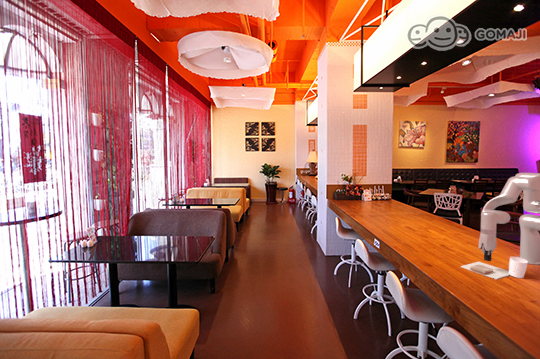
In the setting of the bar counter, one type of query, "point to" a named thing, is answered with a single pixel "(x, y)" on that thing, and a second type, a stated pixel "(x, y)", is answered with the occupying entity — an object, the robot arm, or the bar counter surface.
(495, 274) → the mat
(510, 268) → the white cup
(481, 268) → the tile
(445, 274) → the bar counter surface
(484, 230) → the robot arm
